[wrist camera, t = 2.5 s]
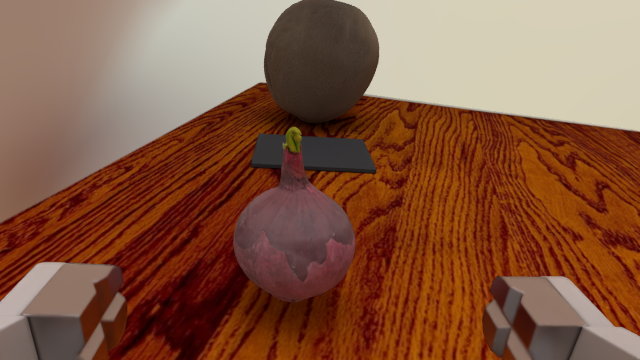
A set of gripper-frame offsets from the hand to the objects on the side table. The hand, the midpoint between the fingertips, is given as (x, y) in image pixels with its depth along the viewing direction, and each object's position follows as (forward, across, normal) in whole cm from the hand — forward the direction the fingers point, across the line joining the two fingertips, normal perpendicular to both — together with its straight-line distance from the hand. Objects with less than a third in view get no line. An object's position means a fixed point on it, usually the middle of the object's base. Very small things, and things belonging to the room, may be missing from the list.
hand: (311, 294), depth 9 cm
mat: (+34, -2, +9) cm, 36 cm away
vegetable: (+11, 0, +10) cm, 15 cm away
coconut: (+47, -3, +10) cm, 48 cm away
